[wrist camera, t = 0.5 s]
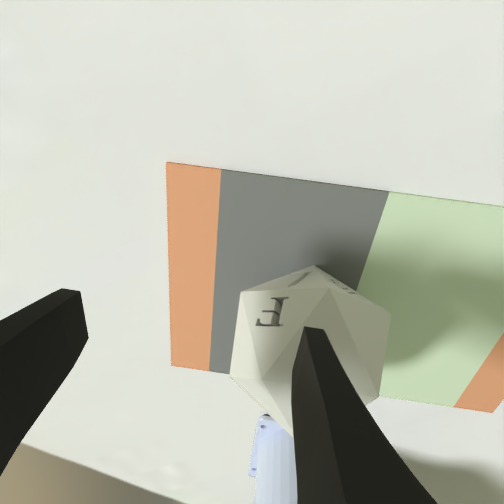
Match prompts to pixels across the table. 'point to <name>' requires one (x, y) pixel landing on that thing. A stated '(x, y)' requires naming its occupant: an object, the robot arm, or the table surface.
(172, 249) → the mat
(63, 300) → the robot arm
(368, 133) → the table surface
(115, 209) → the table surface
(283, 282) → the die
